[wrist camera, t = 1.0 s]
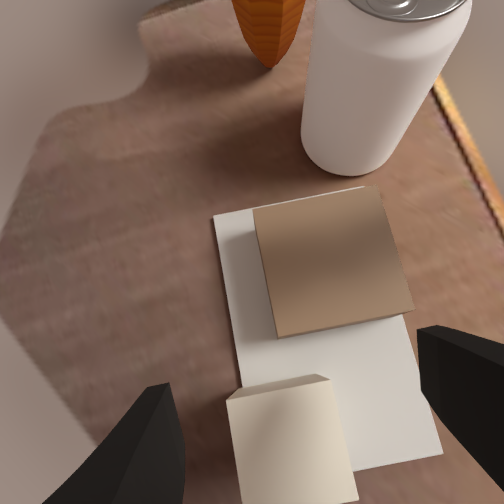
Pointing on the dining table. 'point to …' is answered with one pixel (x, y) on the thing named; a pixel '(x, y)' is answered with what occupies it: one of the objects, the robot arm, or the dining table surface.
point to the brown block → (330, 262)
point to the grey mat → (329, 358)
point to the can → (372, 75)
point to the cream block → (290, 443)
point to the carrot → (268, 26)
